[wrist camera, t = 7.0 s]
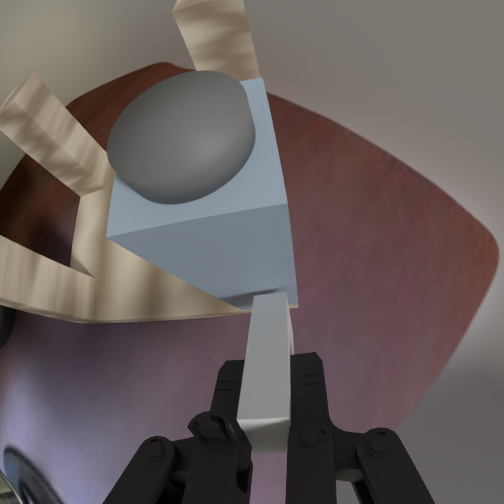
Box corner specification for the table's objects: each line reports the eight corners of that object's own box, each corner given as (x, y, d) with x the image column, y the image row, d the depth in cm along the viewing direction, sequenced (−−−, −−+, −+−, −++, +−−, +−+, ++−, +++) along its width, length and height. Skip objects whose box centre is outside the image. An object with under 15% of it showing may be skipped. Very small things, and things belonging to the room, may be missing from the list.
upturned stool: (79, 323, 24) (-62, 283, 8) (96, 177, 30) (10, 93, 14) (298, 307, 21) (286, 196, 5) (270, 131, 27) (237, -19, 11)
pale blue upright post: (242, 310, 20) (77, 220, 5) (237, 257, 21) (113, 92, 6) (298, 303, 19) (284, 174, 4) (290, 249, 20) (256, 48, 5)
